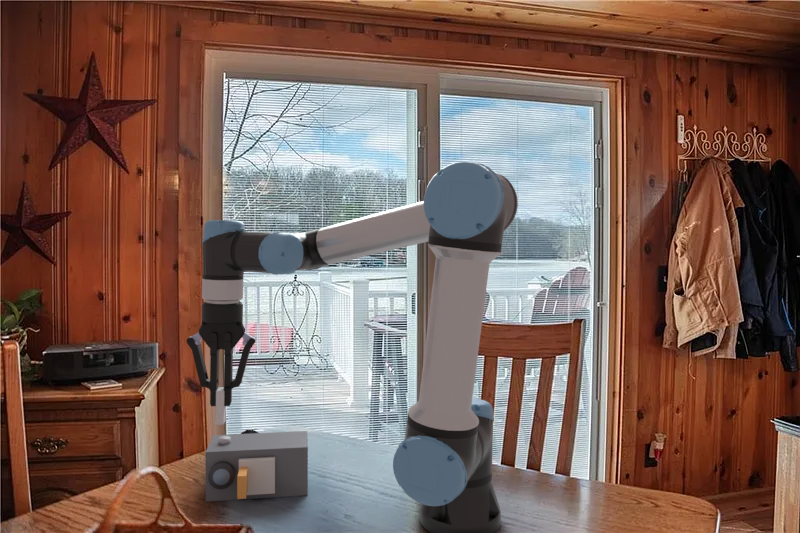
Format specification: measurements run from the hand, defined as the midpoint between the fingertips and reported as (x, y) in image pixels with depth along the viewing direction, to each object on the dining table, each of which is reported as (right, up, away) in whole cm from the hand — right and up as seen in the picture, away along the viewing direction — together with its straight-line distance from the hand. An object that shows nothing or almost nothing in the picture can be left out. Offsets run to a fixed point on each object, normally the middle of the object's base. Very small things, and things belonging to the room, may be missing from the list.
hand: (220, 422), depth 112 cm
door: (+6, -15, +2) cm, 17 cm away
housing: (+5, -16, +10) cm, 20 cm away
